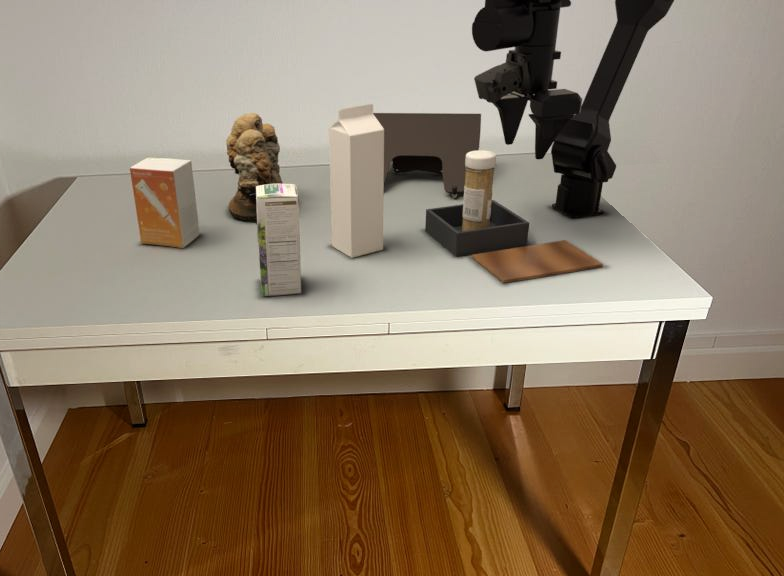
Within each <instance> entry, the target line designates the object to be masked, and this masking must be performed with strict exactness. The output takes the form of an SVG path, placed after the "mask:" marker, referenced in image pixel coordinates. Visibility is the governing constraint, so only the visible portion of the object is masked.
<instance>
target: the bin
mask: <svg viewBox="0 0 784 576" xmlns="http://www.w3.org/2000/svg"><path fill="white" fill-rule="evenodd" d="M462 225H463V203H461V204H455V205H447V206H441V207H433V208H426V209H425V228H424V231H425V232H426V234H428V235H429V236H430V237H431V238H433V240H435V241H436V242H438V244H440V245H441V246H442V247H443V248H445V249H446V250H447V251H448V252H449V253H451V254H452V255H453V256H454V257H463V256H470V255H473V254H480V253H486V252H493V251H499V250H505V249H512V248H518V247H525V246H528V239H529V231H530V222H529V221H528V220H527V219H525V218H523V217H522V216H520V215H518V214H516V213H515V212H514V211H512V210H511V209H508V207H505V206H504V205H502V204H501V203H499V202H498V201H496V200H494V199H492V203H491V216H490V225H489V227H488V228H481V229H474V230H468V231H462Z"/></svg>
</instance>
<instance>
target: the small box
mask: <svg viewBox="0 0 784 576" xmlns="http://www.w3.org/2000/svg"><path fill="white" fill-rule="evenodd" d="M129 172H130V179H131V186H132V192H133V199H134V205H135V206H134V207H135V211H136V218H137V225H138V230H139V239H140V243H141V244H143V245H144V244H145V245H156V246H162V247H163V246H164V247H171V248H179V249H184V248H185V247H187V246H188V245H190V243H191V242H193V241H194V240H196V239H197V238H198V237H199V236H200V234H201V233H200V225H199V216H198V205H197V198H196V191H195V190H196V189H195V182H194V181H195V180H194V174H193V164H192V160H191V159H179V158H168V157H167V158H166V157H165V158H160V157H146V158H144V159H142V160H140V161H139V162H137V163H135V164H134V165H132V166H130V167H129Z"/></svg>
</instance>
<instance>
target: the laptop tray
mask: <svg viewBox="0 0 784 576" xmlns="http://www.w3.org/2000/svg"><path fill="white" fill-rule="evenodd" d="M373 114H374V116H375V117H376V119H377V120H378V121H379V123H380V124H381V126H382V127H383V128H384V182H385V181H386V178H387V177H388V174H389V171H390V167H391V164H392V172H393V173H394V174H397V175H400V174H405V173H410V172H426V173H431V174H434V175H438V176H439V175H440V176H442V180H443V181H442V182H443V187H444V191H445V193H447V194H451V196H452V199H456V198H457V196H458V194H460V193H464V185H465V176H466V166H465V159H466V154H467V153H468V152H471V151H477V150H480V143H481V128H482V113H444V112H443V113H440V112H439V113H437V112H436V113H434V112H433V113H430V112H418V113H417V112H373Z"/></svg>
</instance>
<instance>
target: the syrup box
mask: <svg viewBox="0 0 784 576" xmlns="http://www.w3.org/2000/svg"><path fill="white" fill-rule="evenodd" d="M255 195H256V205H257V219H256V231H257V232H256V233H257V234H256V235H257V248H258V249H257V250H258V261H259V262H258V263H259V264H258V265H259V276H260V277H259V278H260V288H261V289H260V292H261V296H262V297H272V296H287V295H297V294H302V270H301V269H302V267H301V246H300V245H301V241H300V239H301V238H300V212H299V195H298V188H297V185H296V184H294V183H283V184H266V185H260V186H256V194H255Z"/></svg>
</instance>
